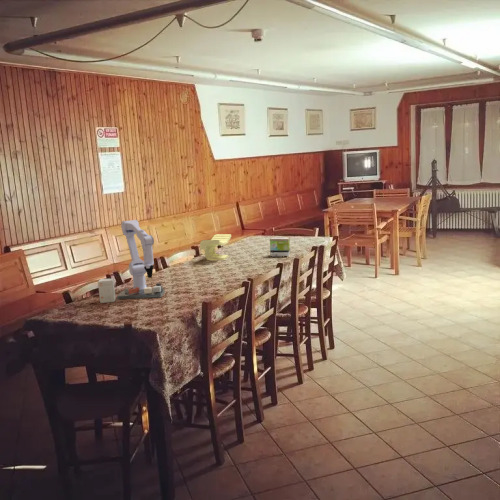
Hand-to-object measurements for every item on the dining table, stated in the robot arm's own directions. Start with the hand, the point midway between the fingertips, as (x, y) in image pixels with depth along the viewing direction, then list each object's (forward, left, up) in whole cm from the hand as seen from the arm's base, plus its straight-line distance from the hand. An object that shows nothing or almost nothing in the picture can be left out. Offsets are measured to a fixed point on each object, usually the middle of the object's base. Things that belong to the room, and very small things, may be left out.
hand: (150, 277), depth 325 cm
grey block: (+6, +5, -7) cm, 11 cm away
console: (+4, -5, -10) cm, 12 cm away
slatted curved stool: (-106, +31, -10) cm, 111 cm away
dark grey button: (0, +5, -7) cm, 8 cm away
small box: (+15, -23, -10) cm, 29 cm away
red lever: (+7, -10, -7) cm, 14 cm away
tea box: (-109, +82, -10) cm, 137 cm away
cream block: (+8, 0, -7) cm, 11 cm away
